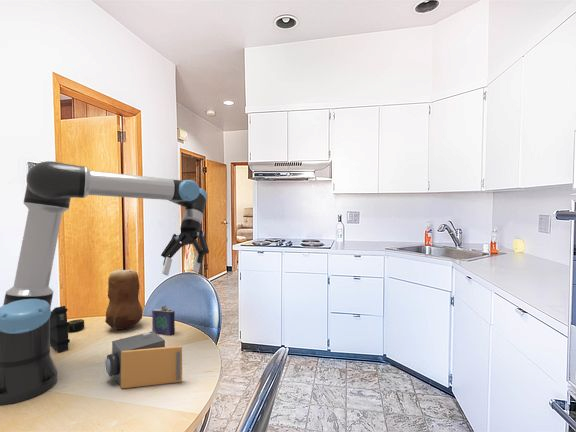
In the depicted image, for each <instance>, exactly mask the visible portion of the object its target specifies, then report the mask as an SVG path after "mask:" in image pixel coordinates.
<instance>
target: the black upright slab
mask: <svg viewBox="0 0 576 432" xmlns="http://www.w3.org/2000/svg"><path fill="white" fill-rule="evenodd" d="M68 310H69V309H68V308H66V305H63V306H58V307H57V306H56V307H54V308H53V309H52V310H51V316H50V347H52V348H53V349H54V350H55V351H56V352H57V353H62V352H66V351H68V350H69V344H71V339H70V338H69V331H68V326H69V323H67V322H68V316H67V312H68Z"/></svg>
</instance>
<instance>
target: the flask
mask: <svg viewBox="0 0 576 432" xmlns="http://www.w3.org/2000/svg"><path fill="white" fill-rule="evenodd" d="M166 306H167V304H163V305H161V307H160V308H154V309H152V310H151V311H152V313H151V314H152V320H151V322H152V326H151V329H152V330H151V331H153V332H155V333H156V334H157V335H159V334H162V335H163V336H169V337H170V336H171V337H172V335H173V336H174V334H175V335H176V333H175V332H176V330H175V329H176V327H175V326H176V323H175V321H176V320H175V310H174V309H171V308H168V307H166ZM162 335H161V336H162Z"/></svg>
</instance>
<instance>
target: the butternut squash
mask: <svg viewBox="0 0 576 432" xmlns="http://www.w3.org/2000/svg"><path fill="white" fill-rule="evenodd" d="M139 278H140V276H139V273H138V272H137V271H136V270H135V269H117V270H113V271H112V272H111V273H110V274H109V276H108V278H107V279H108V280H107V281H108V282H107V283H108V285H107V286H108V288H107V289H108V290H107V298H108V300H109V301H108V302H109V303H108V304H107V308H106V312H105V321H104V322H105V323H106V324H107V325H108V326H110V328H112V329H115V330H129V329H132V328H133V327H134V326H136V325H137V324H138V323H140V321H141V319H142V318H143V308H142V304H141V302H140V300H139V297H140V296H139V295H140V280H139Z"/></svg>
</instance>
